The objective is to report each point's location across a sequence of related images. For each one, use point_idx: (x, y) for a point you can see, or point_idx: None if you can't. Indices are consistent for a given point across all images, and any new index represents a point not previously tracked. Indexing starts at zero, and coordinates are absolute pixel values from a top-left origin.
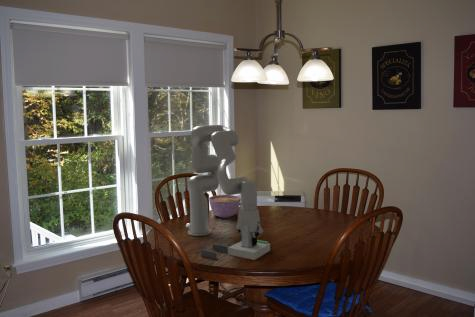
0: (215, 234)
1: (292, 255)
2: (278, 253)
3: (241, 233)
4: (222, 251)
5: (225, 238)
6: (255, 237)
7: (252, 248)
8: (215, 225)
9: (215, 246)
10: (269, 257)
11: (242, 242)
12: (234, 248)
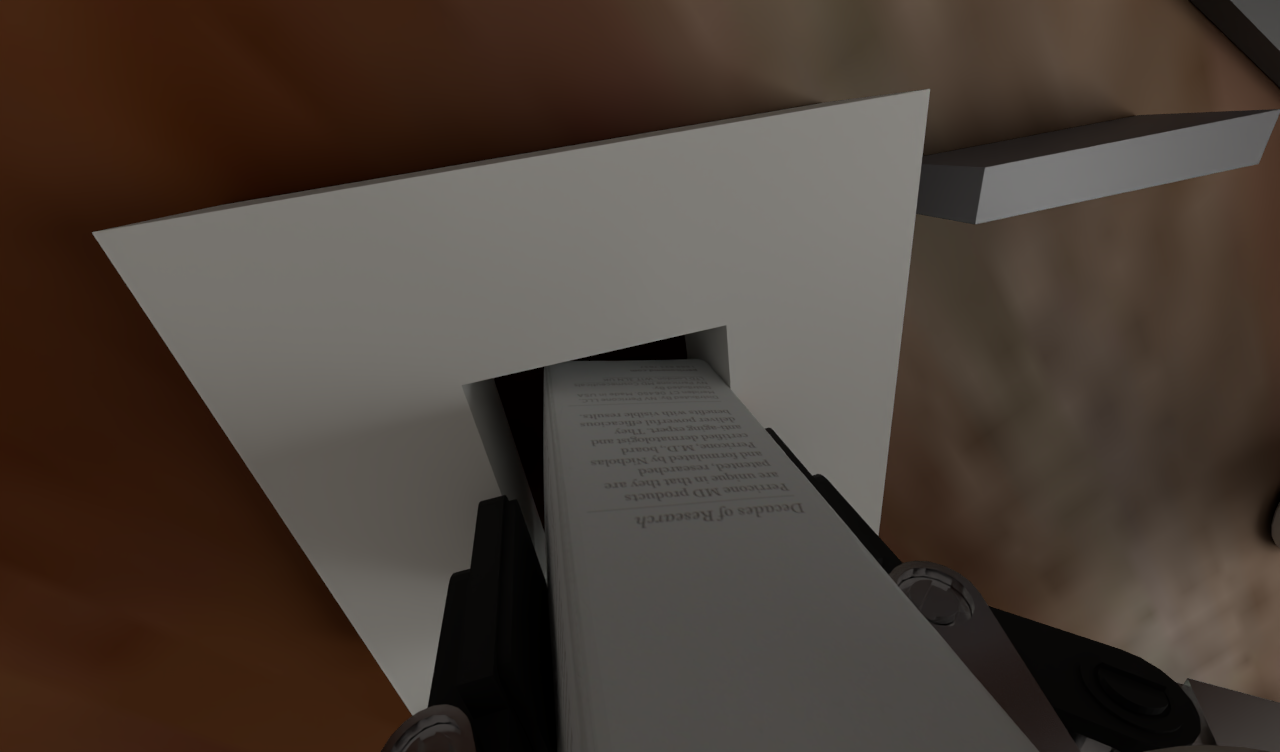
0: (1217, 533)
1: (61, 740)
2: (275, 660)
3: (949, 626)
4: (979, 147)
5: (1099, 532)
6: (419, 746)
7: (436, 425)
8: (1250, 643)
9: (1180, 121)
10: (185, 491)
11: (741, 425)
12: (764, 135)
